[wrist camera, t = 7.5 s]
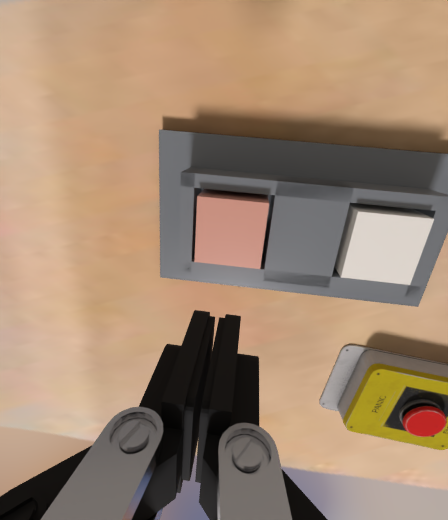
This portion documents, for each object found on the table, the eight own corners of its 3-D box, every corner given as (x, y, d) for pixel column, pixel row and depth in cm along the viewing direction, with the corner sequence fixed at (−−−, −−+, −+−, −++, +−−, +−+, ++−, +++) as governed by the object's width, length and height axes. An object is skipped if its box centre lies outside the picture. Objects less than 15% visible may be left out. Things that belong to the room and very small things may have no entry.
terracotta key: (267, 194, 23) (269, 203, 20) (259, 253, 25) (260, 269, 22) (204, 188, 23) (197, 196, 21) (201, 247, 25) (194, 261, 23)
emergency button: (467, 467, 30) (324, 437, 31) (443, 428, 34) (316, 402, 35) (520, 404, 27) (355, 370, 27) (485, 368, 31) (342, 339, 31)
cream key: (411, 208, 23) (434, 218, 20) (391, 267, 25) (410, 284, 22) (344, 201, 23) (358, 211, 20) (330, 260, 25) (340, 277, 22)
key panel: (468, 155, 23) (515, 160, 19) (412, 301, 28) (440, 329, 24) (162, 129, 24) (143, 128, 20) (163, 272, 29) (148, 295, 25)
